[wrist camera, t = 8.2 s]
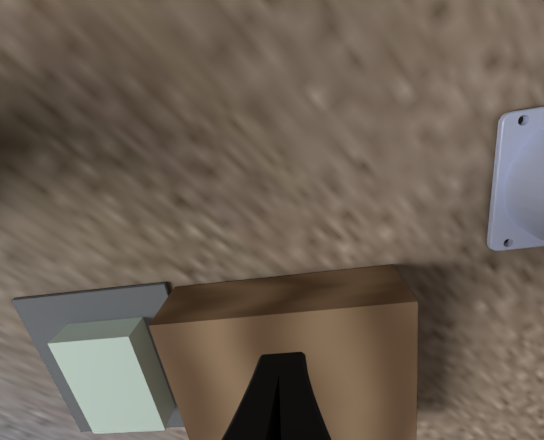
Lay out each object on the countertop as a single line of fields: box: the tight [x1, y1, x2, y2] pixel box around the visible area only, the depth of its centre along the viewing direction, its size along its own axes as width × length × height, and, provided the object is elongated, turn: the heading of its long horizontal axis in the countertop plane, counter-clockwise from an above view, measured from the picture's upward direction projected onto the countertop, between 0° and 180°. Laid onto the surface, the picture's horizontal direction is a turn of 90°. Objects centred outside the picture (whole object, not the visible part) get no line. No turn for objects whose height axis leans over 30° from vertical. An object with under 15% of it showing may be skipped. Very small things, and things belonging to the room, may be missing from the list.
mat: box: [11, 282, 185, 432], centre depth 23 cm, size 12×14×1 cm
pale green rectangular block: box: [48, 317, 175, 434], centre depth 22 cm, size 6×9×2 cm, turn 9°
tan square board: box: [149, 265, 418, 440], centre depth 20 cm, size 15×13×4 cm
